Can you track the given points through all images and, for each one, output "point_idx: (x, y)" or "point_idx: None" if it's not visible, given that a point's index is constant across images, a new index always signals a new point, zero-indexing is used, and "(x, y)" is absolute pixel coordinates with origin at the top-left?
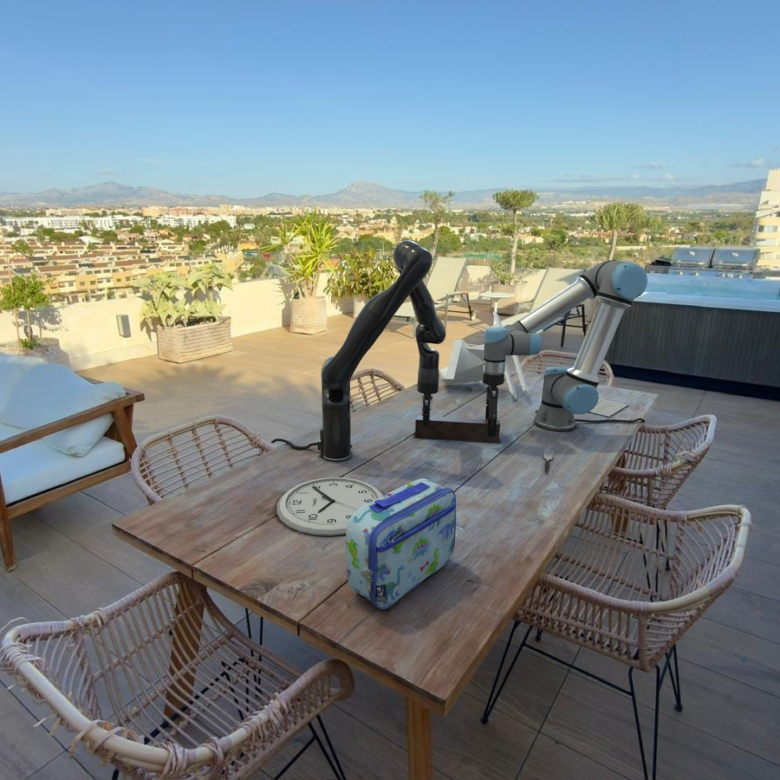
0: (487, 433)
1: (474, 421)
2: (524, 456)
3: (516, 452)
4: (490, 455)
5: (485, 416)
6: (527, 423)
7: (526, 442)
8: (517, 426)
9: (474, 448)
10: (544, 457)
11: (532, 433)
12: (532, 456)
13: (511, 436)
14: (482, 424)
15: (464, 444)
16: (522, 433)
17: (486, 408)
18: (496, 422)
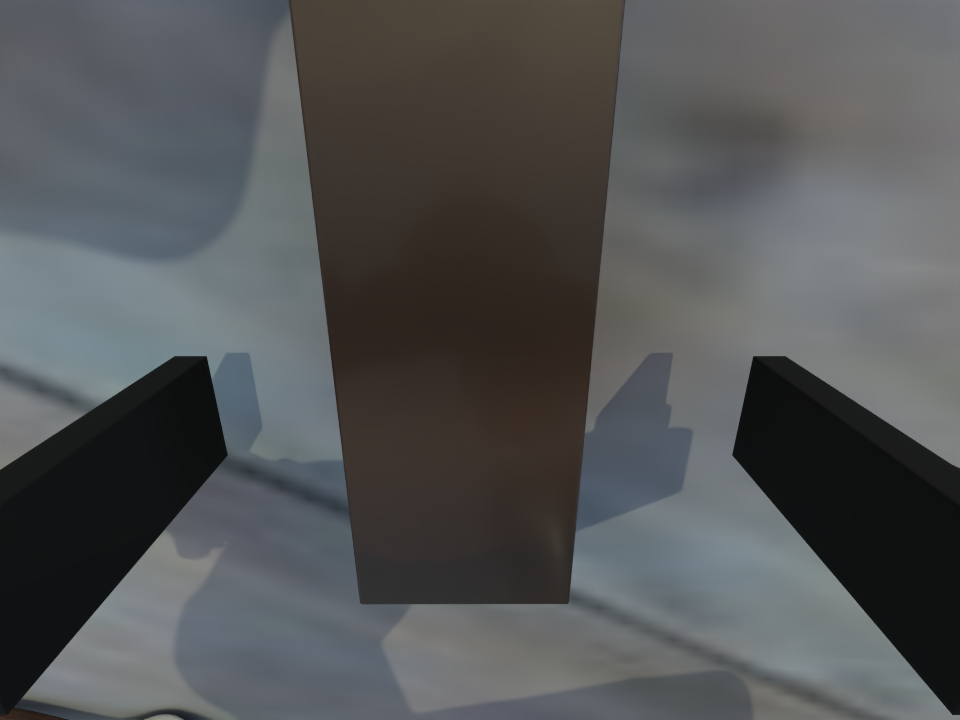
0: (166, 372)
1: (408, 155)
2: (153, 602)
3: (215, 557)
4: (34, 335)
5: (834, 397)
6: (911, 686)
7: (465, 641)
8: (848, 615)
9: (156, 159)
10: (165, 718)
11: (672, 694)
12: (179, 649)
13: (592, 551)
14: (334, 325)
15: (242, 13)
16: (671, 634)
17: (955, 516)
18: (440, 562)
